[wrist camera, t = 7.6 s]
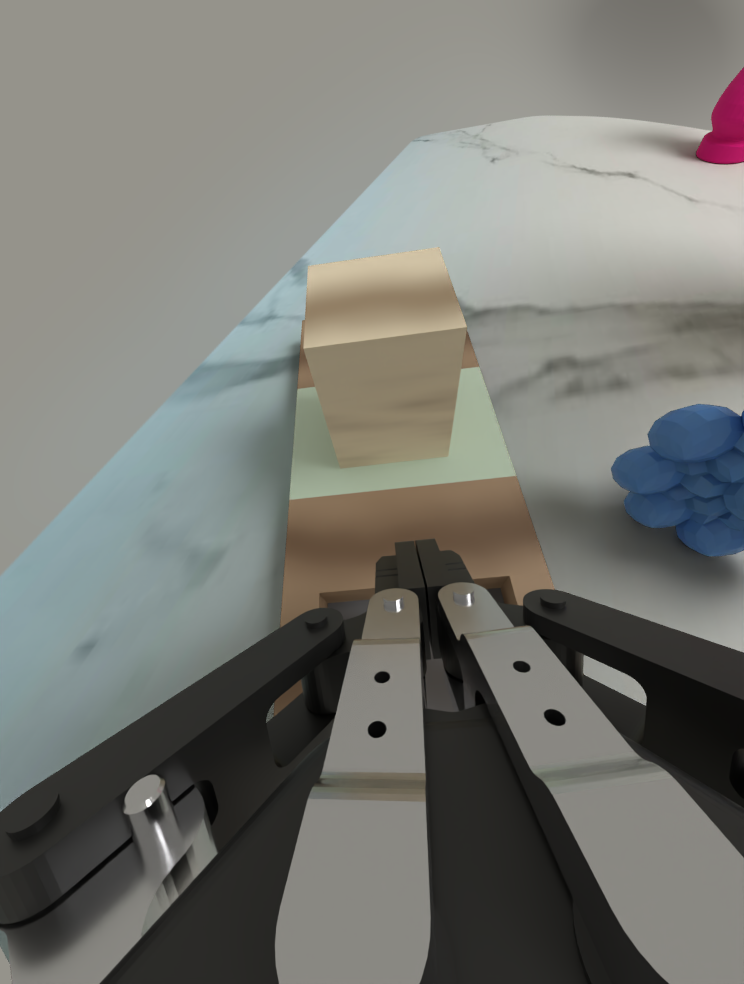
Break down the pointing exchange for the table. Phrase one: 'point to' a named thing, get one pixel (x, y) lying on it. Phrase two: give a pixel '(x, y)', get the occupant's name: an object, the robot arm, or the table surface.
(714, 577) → the table surface
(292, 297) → the table surface
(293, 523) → the board
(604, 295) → the table surface
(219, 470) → the table surface
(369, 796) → the robot arm
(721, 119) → the pepper mill
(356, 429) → the beech block
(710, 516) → the grapes
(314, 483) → the pad
